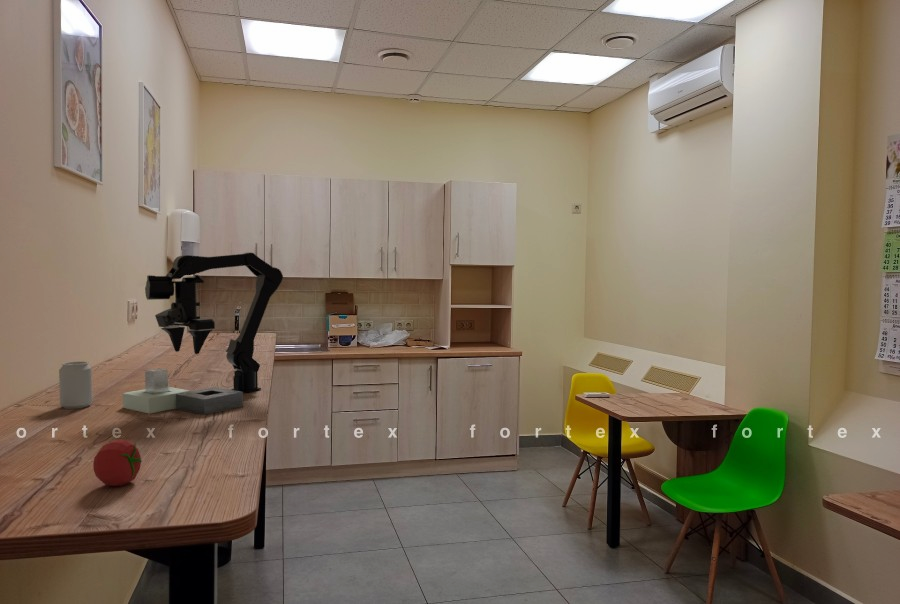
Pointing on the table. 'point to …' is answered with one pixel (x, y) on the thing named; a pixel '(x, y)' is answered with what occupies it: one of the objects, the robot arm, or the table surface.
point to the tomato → (117, 463)
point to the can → (75, 385)
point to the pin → (156, 381)
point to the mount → (209, 400)
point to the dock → (151, 400)
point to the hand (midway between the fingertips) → (186, 352)
